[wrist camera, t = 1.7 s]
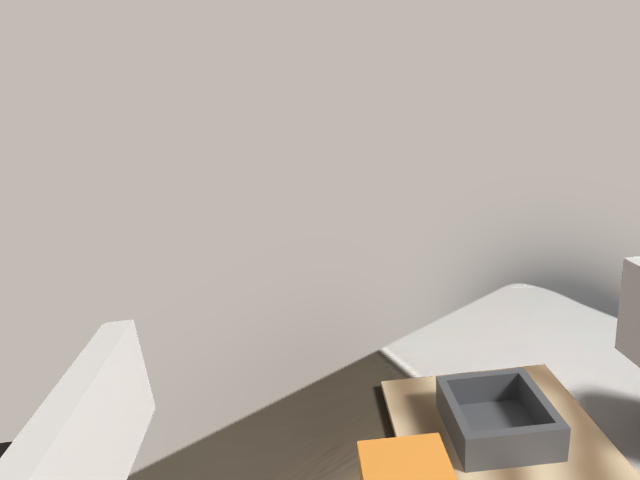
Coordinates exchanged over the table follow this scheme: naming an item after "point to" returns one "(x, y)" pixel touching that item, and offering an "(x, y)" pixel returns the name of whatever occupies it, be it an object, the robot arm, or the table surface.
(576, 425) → the mounting board
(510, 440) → the socket cup
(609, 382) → the table surface
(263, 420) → the table surface
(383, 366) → the table surface
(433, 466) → the connector plug
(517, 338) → the table surface
